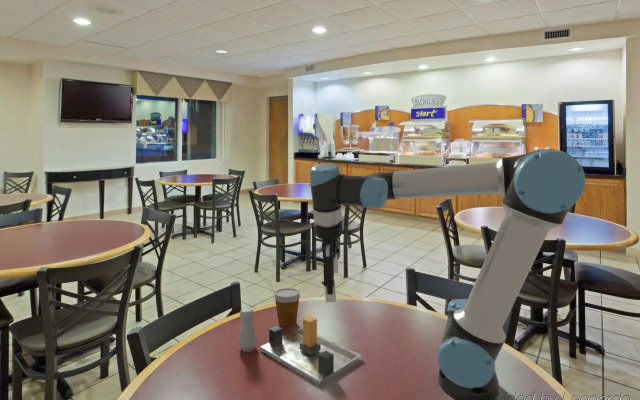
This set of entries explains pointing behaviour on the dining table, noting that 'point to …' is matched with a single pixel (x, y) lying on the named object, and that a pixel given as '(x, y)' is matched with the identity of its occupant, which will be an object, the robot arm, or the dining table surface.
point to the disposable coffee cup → (287, 306)
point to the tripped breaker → (310, 336)
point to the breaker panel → (309, 366)
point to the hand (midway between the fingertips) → (332, 286)
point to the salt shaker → (247, 331)
